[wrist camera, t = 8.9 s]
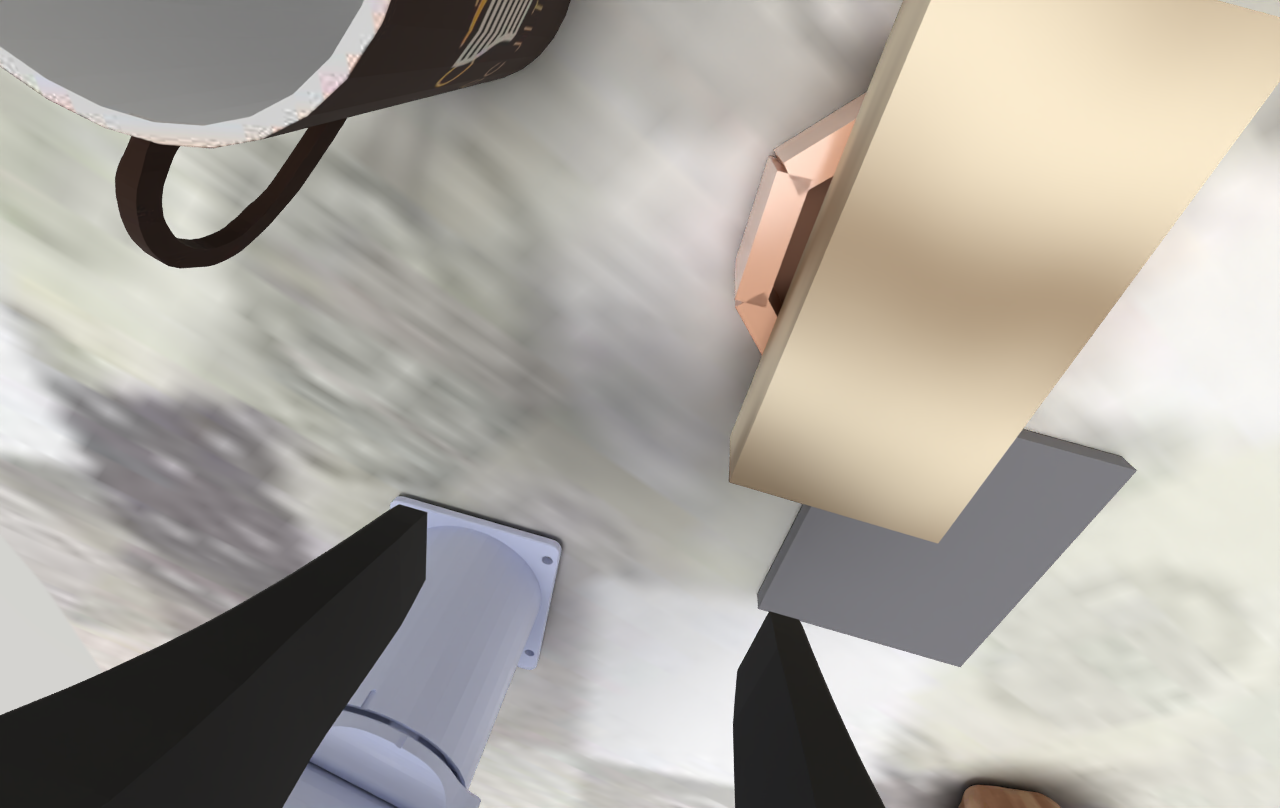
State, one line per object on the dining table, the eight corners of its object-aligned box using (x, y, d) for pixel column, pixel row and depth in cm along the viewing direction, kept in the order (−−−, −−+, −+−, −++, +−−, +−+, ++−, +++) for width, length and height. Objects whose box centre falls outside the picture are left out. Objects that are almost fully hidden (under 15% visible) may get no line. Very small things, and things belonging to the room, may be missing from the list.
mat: (953, 650, 24) (960, 667, 23) (757, 594, 24) (757, 608, 23) (1121, 456, 18) (1136, 470, 17) (863, 385, 18) (868, 396, 18)
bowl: (942, 392, 18) (989, 460, 15) (713, 329, 18) (707, 381, 15) (1096, 134, 14) (1213, 144, 11) (800, 57, 14) (820, 42, 11)
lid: (913, 489, 15) (938, 543, 14) (730, 436, 16) (728, 482, 14) (1207, 42, 10) (1319, 27, 8) (917, -37, 10) (959, -70, 8)
